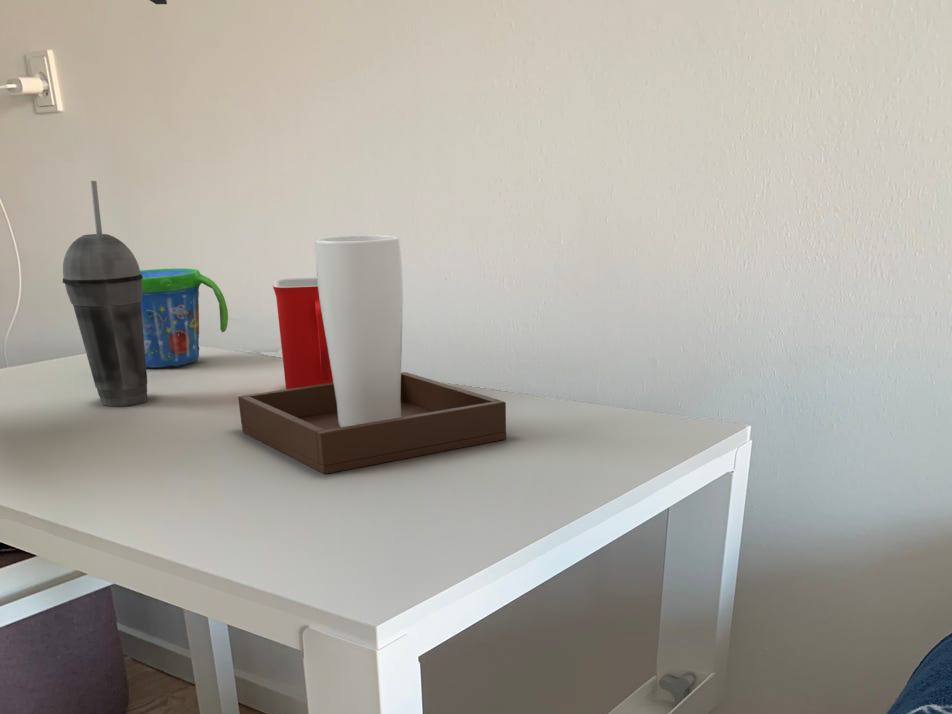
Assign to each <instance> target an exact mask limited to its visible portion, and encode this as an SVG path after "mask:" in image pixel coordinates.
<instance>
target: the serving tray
mask: <svg viewBox="0 0 952 714" xmlns="http://www.w3.org/2000/svg"><path fill="white" fill-rule="evenodd" d="M237 400H238V407H239V409H238V410H239V416H240V424H241V431H242V432H243V433H244V434H246V435H248V436H250V437H252V438H254V439H256V440H258V441H260V442H261V443H264V444H265V445H267V446H269V447H271V448H273V449H275V450H277V451H279V452H281V453H283V454H285V455H287V456H289V457H291V458H293V459H294V460H296V461H298V462H301V463H302V464H304V465H306V466H308V467H309V468H312V469H313V470H316V471H317V472H320V473H321V474H323V475H326V474H327V475H328V474H334V473H338V472H343V471H349V470H353V469H359V468H363V467H368V466H374V465H380V464H385V463H390V462H395V461H400V460H405V459H410V458H416V457H420V456H425V455H431V454H437V453H442V452H447V451H452V450H456V449H463V448H467V447H473V446H477V445H478V446H479V445H484V444H489V443H493V442H498V441H504V440H507V403H506V401H503V400H500V399H497V398H494V397H491V396H487V395H484V394H481V393H477V392H475V391H471V390H468V389H464V388H460V387H457V386H455V385H454V386H453V385H451V384H448V383H444V382H440V381H437V380H434V379H432V378H431V379H430V378H428V377H424V376H421V375H420V376H419V375H417V374H415V373H411V372H407V371H403V372H402V371H401V417H399V418H394V419H388V420H382V421H376V422H370V423H364V424H358V425H352V426H346V427H340V426H339V423H338V414H337V403H336V396H335V390H334V384H333V383H326V384H319V385H312V386H305V387H298V388H291V389H286V388H285V389H278V390H271V391H264V392H257V393H250V394H244V395H243V394H242V395H238V396H237Z"/></svg>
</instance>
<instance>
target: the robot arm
mask: <svg viewBox="0 0 952 714" xmlns="http://www.w3.org/2000/svg"><path fill="white" fill-rule="evenodd" d="M149 1H150V2H151V3H153V4H155V5H168V1H167V0H149Z"/></svg>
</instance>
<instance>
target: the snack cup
mask: <svg viewBox="0 0 952 714" xmlns="http://www.w3.org/2000/svg"><path fill="white" fill-rule="evenodd" d="M140 273H141V274H142V276H143V279H141V280H142V300H141V308H142V320H143V333H144V346H145V358H146V368H149V369H160V368H161V369H163V368H170V367H171V368H172V367H180V366H184V365H188V364H192V363H194V362H198V361H199V358H200V346H199V345H200V342H199V339H200V311H199V310H200V307H199V306H200V304H199V303H200V302H199V298H200V297H199V296H200V290H199V289H200V286H201V284H203V285H204V286H206V287H208V288H210V289H212V290H213V293H214V295H215V298H216V300H217V302H218V306H219V322H220V323H219V324H220V325H219V326H220V327H219V328H220V332H221V333H225V332H226V330H227V328H228V322H229V312H228V311H229V309H228V307H227V306H228V305H227V302H226V299H225V296H224V295H223V294H224V293H223V292H222V290H221V288H220V287H219V286H218V285H217V283H216V282H215V281H214V280H212V279H211V278H210V277H208V276H205V275H203V274H202V273H201V272H200V271H199V270H198V269H196V268H185V267H184V268H181V267H180V268H175V267H174V268H173V267H172V268H154V269H140Z"/></svg>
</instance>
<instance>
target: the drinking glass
mask: <svg viewBox="0 0 952 714" xmlns="http://www.w3.org/2000/svg"><path fill="white" fill-rule="evenodd" d="M400 241H401V240H400V237H399V236H396V235H379V234H378V235H377V234H374V235H373V234H372V235H366V234H365V235H340V236H327V237H320V238H317V239H315V240H314V251H315V269H316V270H315V272H316V277H317V284H318V292H319V300H320V306H321V312H322V318H323V324H324V330H325V336H326V342H327V348H328V354H329V360H330V366H331V372H332V378H333V384H334V390H335V396H336V403H337V414H338V423H339V426H340V427H346V426H352V425H358V424H364V423H370V422H376V421H382V420H388V419H394V418H399V417H401V373H402V355H403V354H402V353H403V318H404V317H403V316H404V315H403V314H404V276H403V262H402V252H401V242H400Z"/></svg>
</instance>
